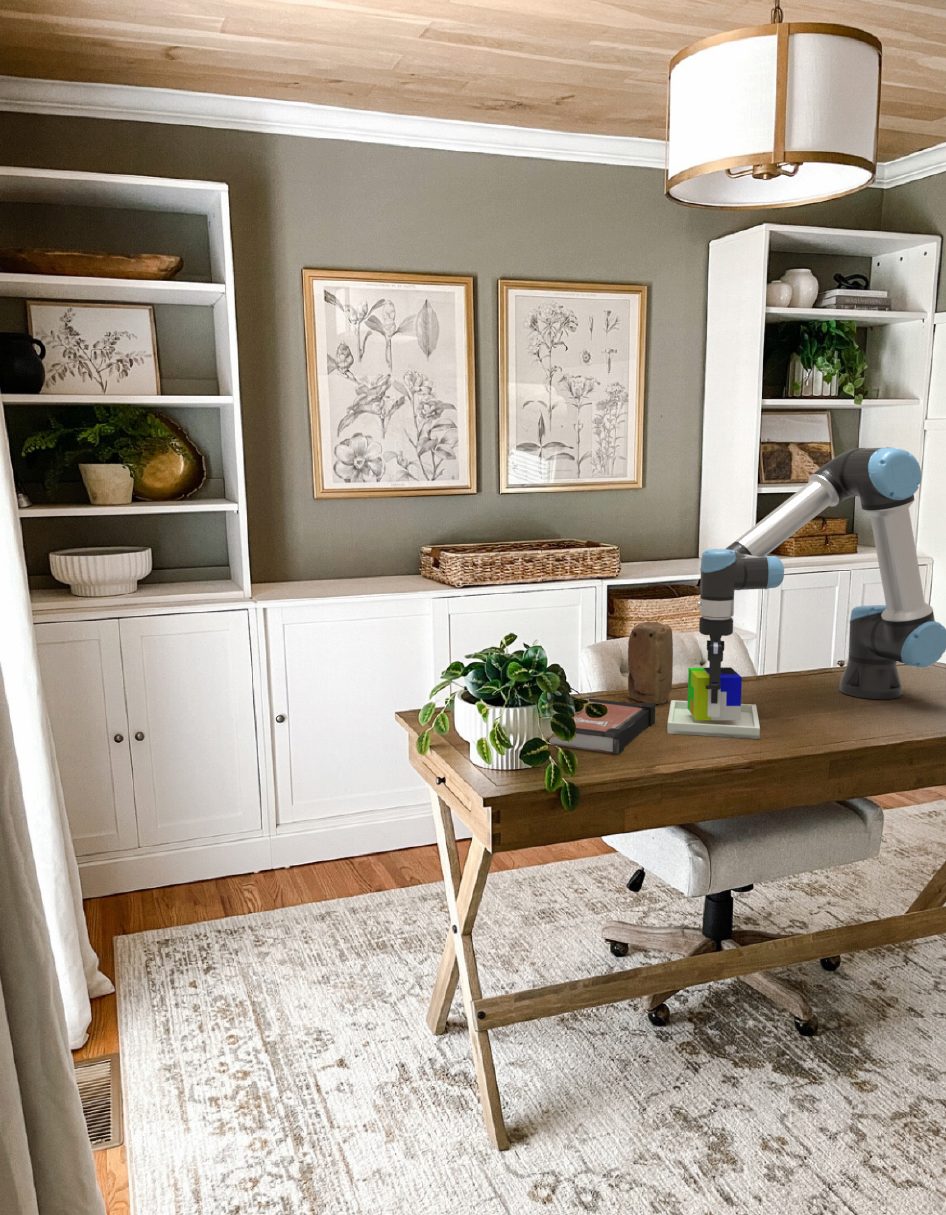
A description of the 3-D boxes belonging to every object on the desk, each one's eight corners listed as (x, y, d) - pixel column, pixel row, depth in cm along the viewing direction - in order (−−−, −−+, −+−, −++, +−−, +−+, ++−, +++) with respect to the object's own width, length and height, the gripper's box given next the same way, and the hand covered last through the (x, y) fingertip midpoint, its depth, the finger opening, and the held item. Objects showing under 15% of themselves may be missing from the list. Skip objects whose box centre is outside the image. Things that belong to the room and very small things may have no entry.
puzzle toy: (740, 720, 216) (741, 677, 215) (696, 720, 216) (697, 677, 215) (729, 708, 226) (731, 667, 224) (687, 708, 226) (688, 667, 225)
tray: (755, 714, 229) (755, 704, 228) (759, 739, 210) (759, 728, 209) (671, 710, 234) (671, 700, 233) (667, 733, 214) (667, 722, 214)
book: (585, 716, 231) (585, 696, 230) (655, 724, 223) (655, 704, 222) (542, 745, 208) (542, 723, 208) (618, 756, 200) (619, 733, 200)
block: (674, 701, 241) (676, 624, 238) (656, 707, 236) (658, 628, 233) (640, 694, 249) (641, 619, 246) (622, 699, 244) (623, 623, 241)
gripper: (700, 608, 230) (697, 696, 233) (698, 625, 207) (696, 722, 211) (732, 609, 228) (729, 697, 231) (734, 626, 205) (731, 724, 209)
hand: (713, 709), depth 221 cm, fingers closed on puzzle toy, 11 cm apart
